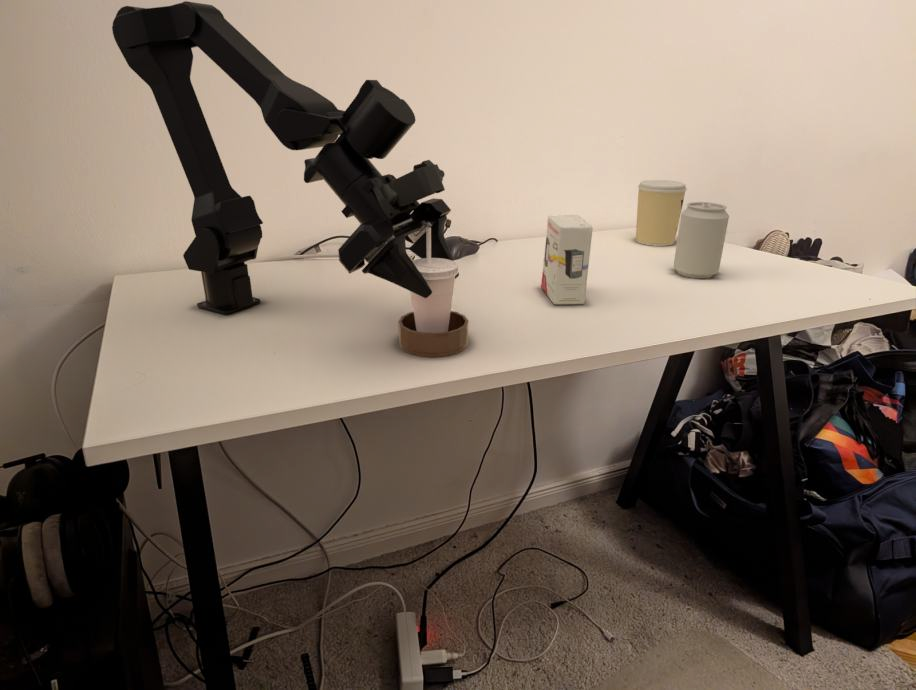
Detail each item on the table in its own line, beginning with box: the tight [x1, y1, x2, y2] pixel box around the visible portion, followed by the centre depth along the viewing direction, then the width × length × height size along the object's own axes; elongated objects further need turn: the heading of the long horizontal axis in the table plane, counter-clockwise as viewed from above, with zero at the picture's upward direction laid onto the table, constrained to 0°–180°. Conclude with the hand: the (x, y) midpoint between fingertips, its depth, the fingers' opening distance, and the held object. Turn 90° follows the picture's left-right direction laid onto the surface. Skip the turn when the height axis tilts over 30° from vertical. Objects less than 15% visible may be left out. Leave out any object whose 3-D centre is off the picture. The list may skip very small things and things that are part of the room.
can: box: [672, 201, 730, 279], centre depth 103 cm, size 8×8×12 cm
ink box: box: [540, 214, 593, 305], centre depth 91 cm, size 9×5×12 cm, turn 6°
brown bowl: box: [397, 310, 470, 358], centre depth 76 cm, size 9×9×3 cm
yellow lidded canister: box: [635, 179, 688, 247], centre depth 125 cm, size 9×9×12 cm
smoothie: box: [410, 227, 459, 333], centre depth 74 cm, size 6×6×14 cm
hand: (443, 286), depth 73 cm, fingers open, 7 cm apart
